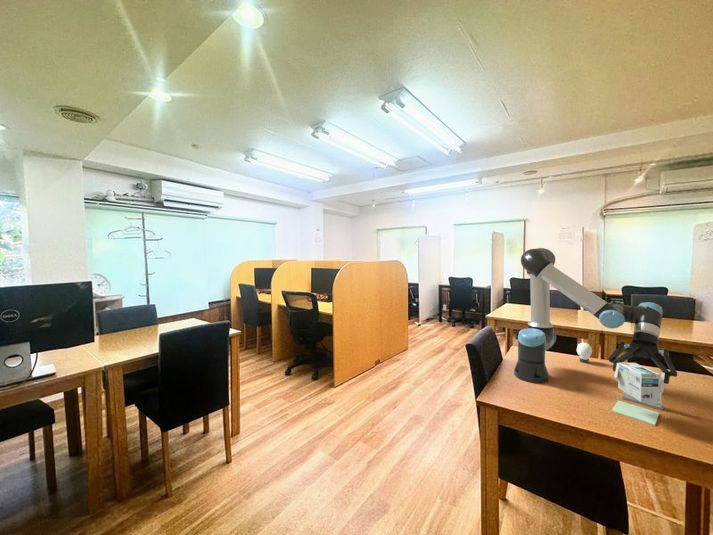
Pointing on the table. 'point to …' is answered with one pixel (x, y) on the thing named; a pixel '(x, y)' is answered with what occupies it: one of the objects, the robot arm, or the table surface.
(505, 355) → the table surface
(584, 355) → the light bulb
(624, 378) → the light bulb box
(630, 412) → the pad
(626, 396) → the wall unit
